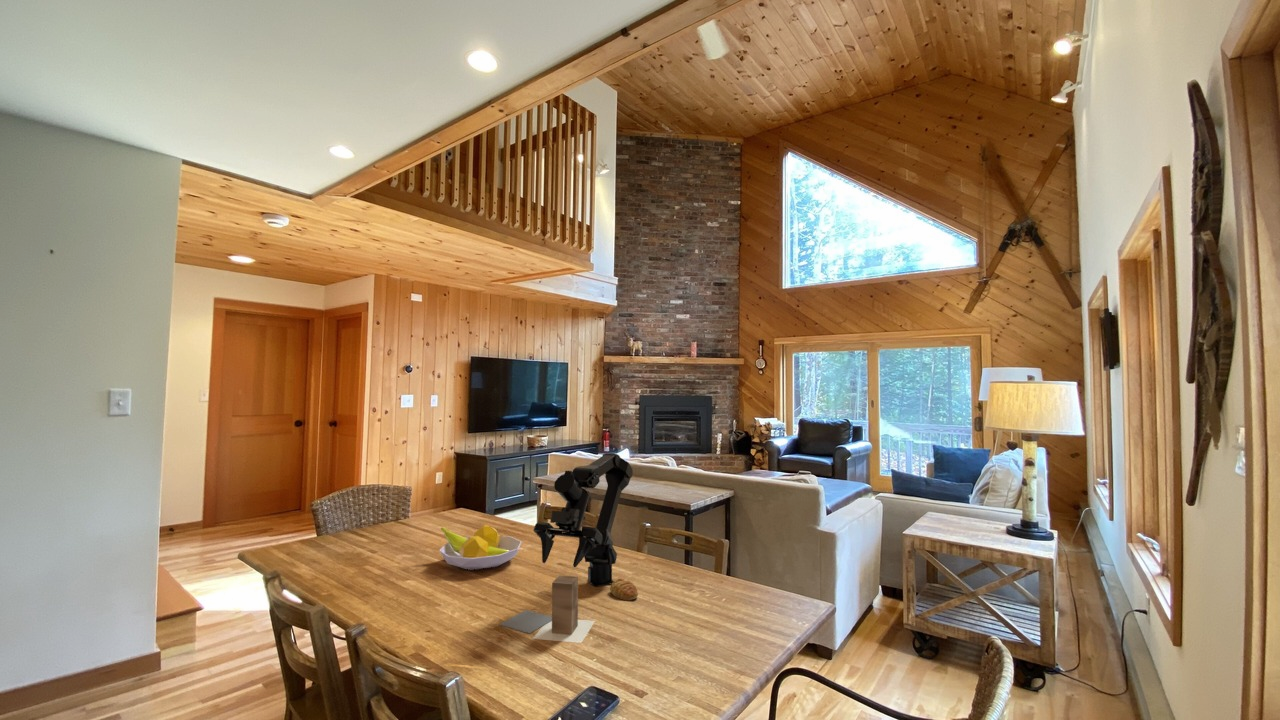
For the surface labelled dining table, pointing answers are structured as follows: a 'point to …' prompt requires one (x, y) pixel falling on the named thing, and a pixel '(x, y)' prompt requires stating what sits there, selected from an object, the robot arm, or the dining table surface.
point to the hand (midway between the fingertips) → (558, 564)
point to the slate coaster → (527, 621)
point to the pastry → (624, 589)
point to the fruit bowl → (479, 549)
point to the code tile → (576, 637)
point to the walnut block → (564, 605)
